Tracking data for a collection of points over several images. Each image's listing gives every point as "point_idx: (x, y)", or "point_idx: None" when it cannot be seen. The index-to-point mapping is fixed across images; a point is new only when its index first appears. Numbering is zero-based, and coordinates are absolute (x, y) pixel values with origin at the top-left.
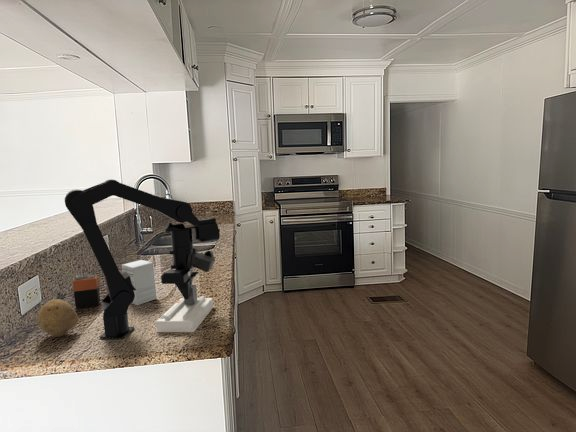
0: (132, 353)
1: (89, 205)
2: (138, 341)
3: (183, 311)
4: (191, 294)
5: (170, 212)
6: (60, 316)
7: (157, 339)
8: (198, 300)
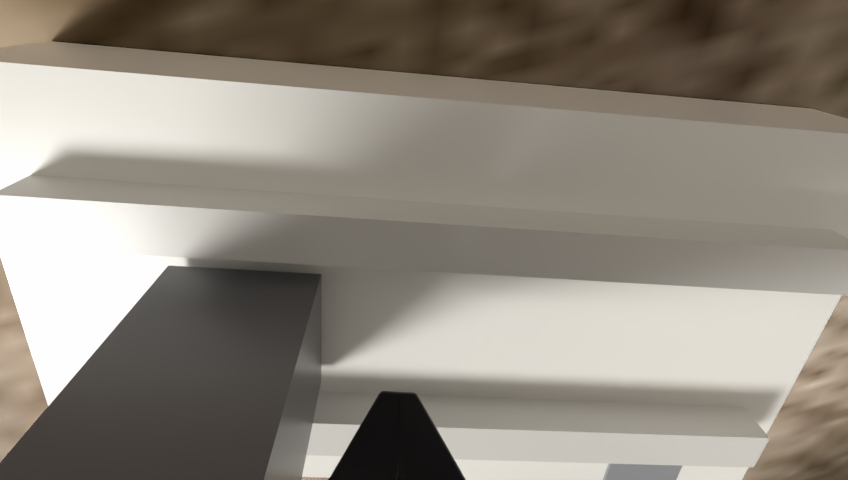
0: None
1: None
2: (802, 463)
3: (531, 334)
4: (292, 402)
5: None
6: None
7: (827, 366)
8: (238, 244)
